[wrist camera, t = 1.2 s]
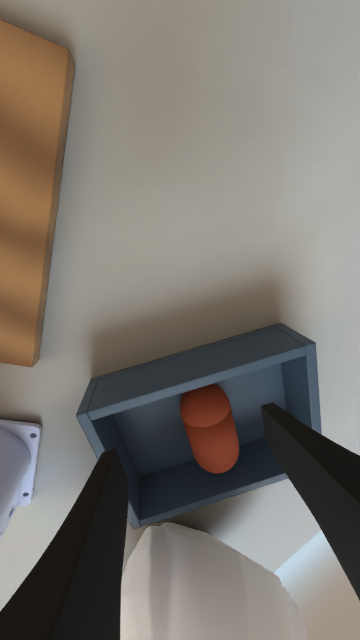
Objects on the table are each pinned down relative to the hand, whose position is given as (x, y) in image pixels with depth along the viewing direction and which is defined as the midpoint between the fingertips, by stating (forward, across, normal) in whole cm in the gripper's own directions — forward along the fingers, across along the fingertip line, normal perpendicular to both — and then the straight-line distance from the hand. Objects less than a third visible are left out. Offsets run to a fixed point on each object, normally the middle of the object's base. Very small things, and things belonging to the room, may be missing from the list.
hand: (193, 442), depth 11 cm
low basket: (+10, -2, +6) cm, 12 cm away
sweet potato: (+9, -2, +6) cm, 11 cm away
